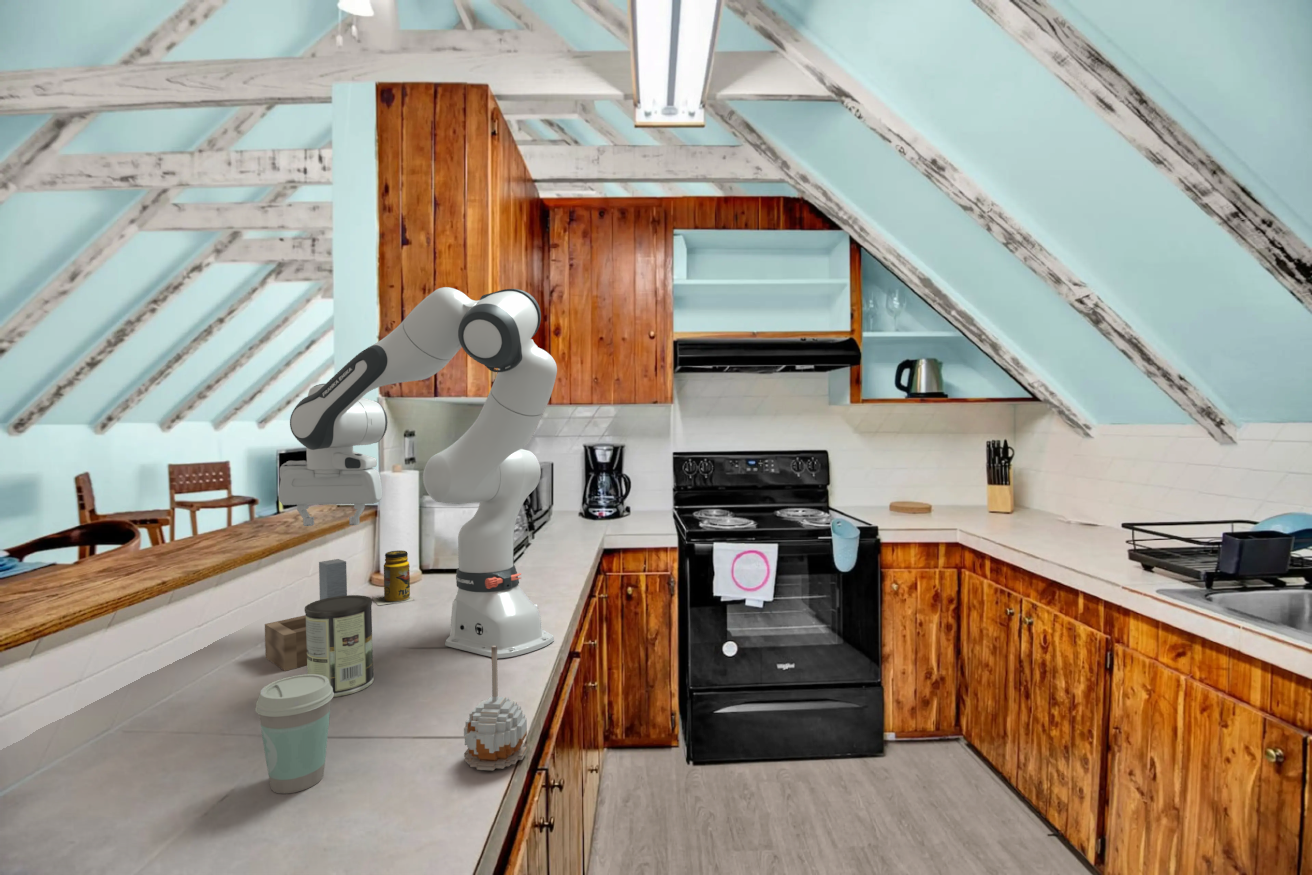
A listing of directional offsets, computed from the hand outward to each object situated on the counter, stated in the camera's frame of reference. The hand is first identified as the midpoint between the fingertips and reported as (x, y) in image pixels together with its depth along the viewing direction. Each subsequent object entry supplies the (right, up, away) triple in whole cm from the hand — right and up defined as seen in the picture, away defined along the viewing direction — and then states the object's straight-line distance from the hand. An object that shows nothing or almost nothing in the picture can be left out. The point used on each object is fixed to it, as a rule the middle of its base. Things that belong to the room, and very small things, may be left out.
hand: (331, 525), depth 138 cm
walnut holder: (+2, -23, -14) cm, 27 cm away
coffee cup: (+24, -24, -57) cm, 66 cm away
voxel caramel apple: (+48, -24, -52) cm, 74 cm away
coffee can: (+15, -24, -28) cm, 39 cm away
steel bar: (0, -23, +1) cm, 23 cm away
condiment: (+3, -22, +25) cm, 34 cm away
